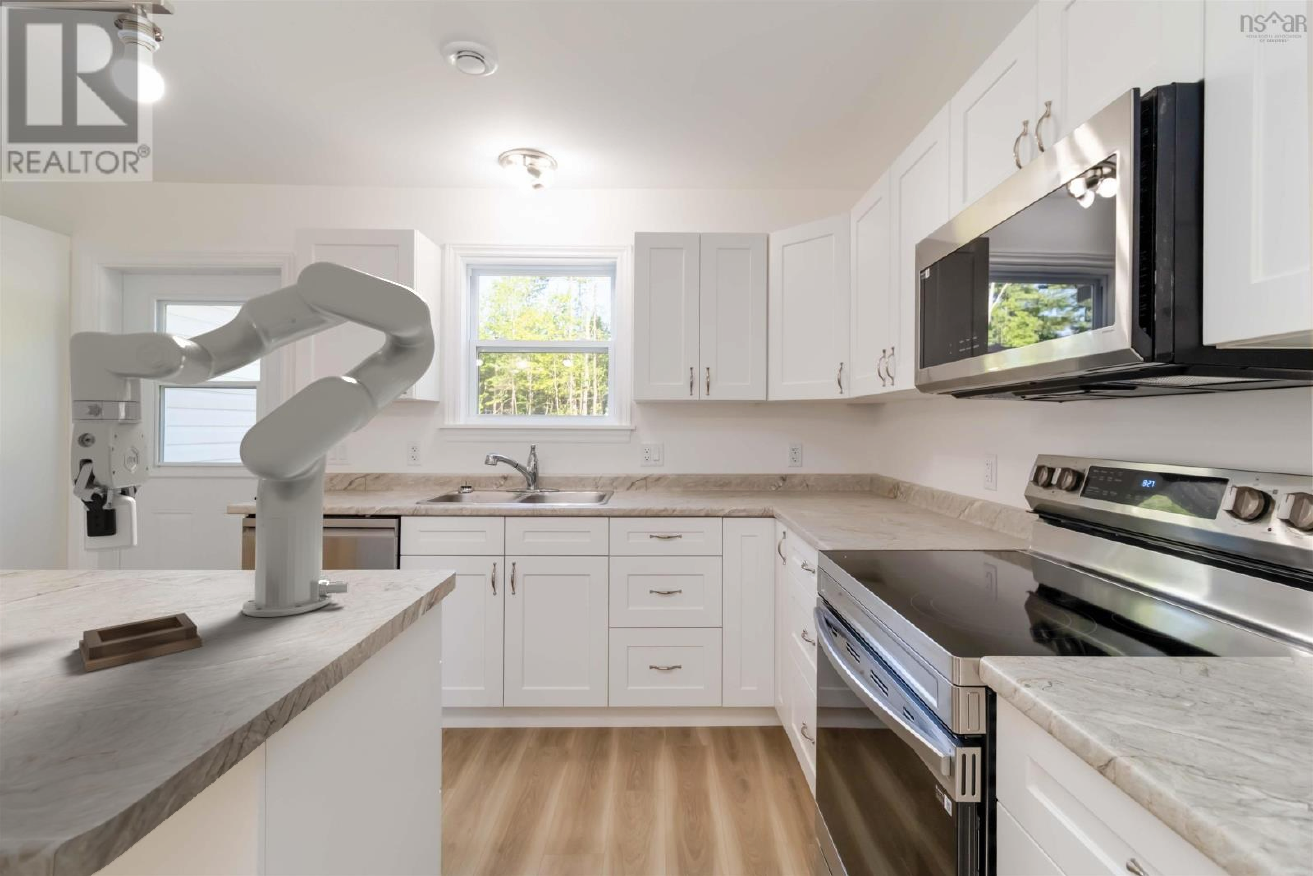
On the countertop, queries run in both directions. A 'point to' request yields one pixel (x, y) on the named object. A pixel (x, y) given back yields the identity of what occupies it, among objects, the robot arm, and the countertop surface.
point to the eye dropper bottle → (124, 526)
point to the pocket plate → (137, 641)
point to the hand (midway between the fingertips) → (111, 532)
